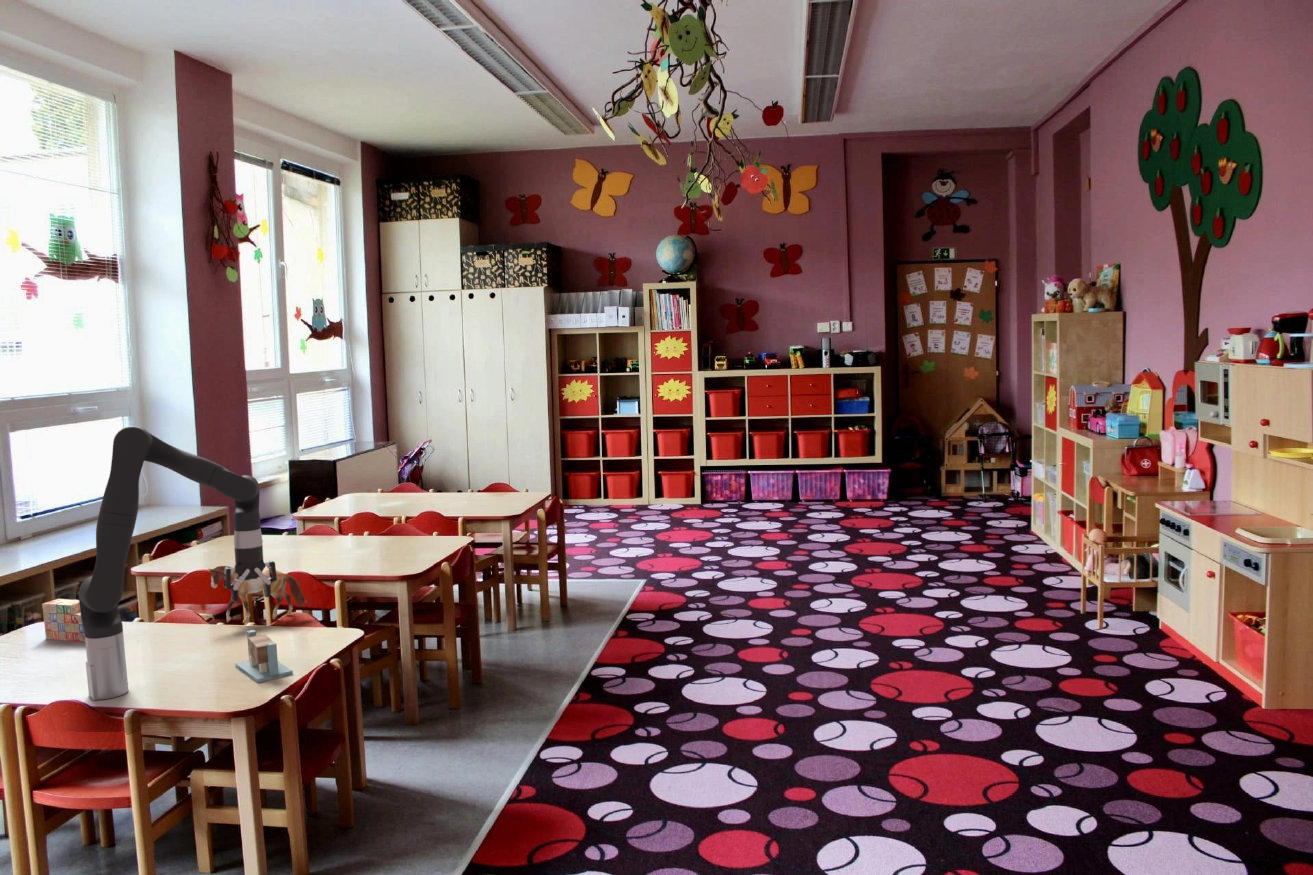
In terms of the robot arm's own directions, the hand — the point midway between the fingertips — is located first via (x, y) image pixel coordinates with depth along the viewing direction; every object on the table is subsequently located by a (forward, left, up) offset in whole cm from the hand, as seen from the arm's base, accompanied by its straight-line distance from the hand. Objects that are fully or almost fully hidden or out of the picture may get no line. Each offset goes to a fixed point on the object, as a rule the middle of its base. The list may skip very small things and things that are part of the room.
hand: (251, 599), depth 284 cm
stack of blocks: (-32, +79, -22) cm, 88 cm away
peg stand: (+2, -1, -22) cm, 22 cm away
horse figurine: (+19, +51, -22) cm, 59 cm away
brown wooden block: (+2, -1, -18) cm, 18 cm away
